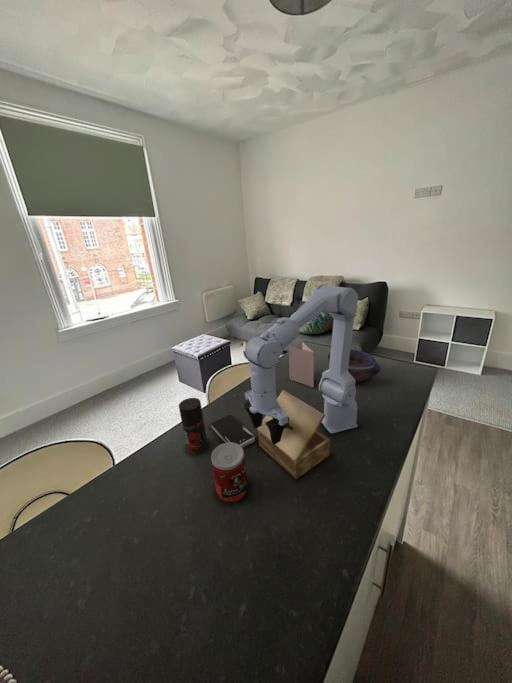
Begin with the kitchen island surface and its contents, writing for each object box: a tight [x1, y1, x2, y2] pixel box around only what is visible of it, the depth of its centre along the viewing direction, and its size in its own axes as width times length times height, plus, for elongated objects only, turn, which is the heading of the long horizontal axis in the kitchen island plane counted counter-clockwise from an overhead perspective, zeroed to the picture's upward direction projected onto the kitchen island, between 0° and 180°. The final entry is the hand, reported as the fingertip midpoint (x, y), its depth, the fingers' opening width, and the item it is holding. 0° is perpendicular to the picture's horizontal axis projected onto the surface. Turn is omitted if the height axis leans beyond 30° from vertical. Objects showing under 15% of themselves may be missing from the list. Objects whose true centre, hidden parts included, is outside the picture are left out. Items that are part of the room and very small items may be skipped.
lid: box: [256, 389, 325, 462], centre depth 73 cm, size 13×16×5 cm
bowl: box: [327, 348, 381, 384], centre depth 112 cm, size 18×18×10 cm
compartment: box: [257, 429, 331, 480], centre depth 78 cm, size 13×16×5 cm
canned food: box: [210, 442, 248, 504], centre depth 66 cm, size 8×8×11 cm
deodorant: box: [178, 397, 208, 455], centre depth 80 cm, size 6×6×15 cm
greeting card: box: [288, 341, 316, 388], centre depth 111 cm, size 11×7×15 cm, turn 13°
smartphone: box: [210, 414, 256, 449], centre depth 87 cm, size 8×1×15 cm
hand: (266, 434), depth 70 cm, fingers open, 7 cm apart
